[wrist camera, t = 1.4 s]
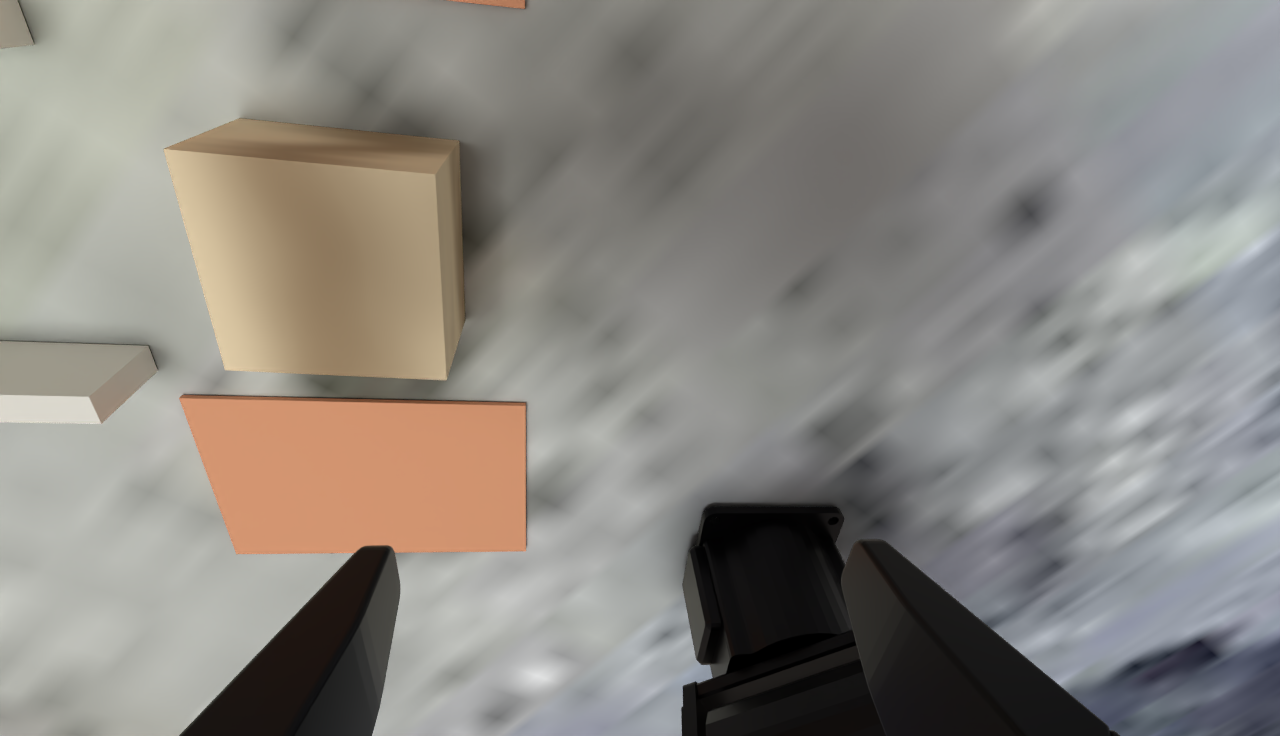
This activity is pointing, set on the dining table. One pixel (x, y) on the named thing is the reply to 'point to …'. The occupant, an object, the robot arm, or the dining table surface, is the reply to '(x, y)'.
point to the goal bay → (63, 345)
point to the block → (326, 247)
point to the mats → (365, 469)
